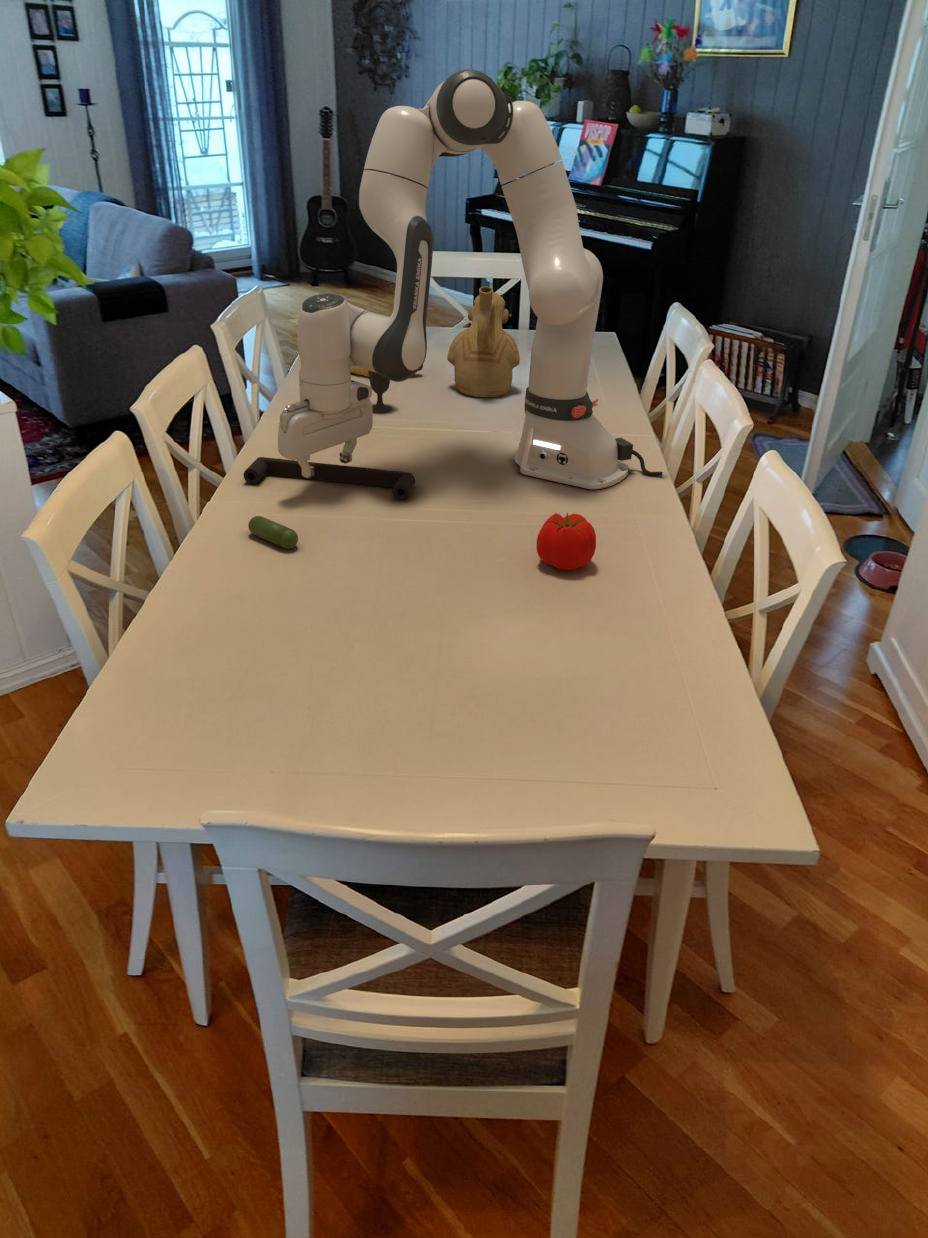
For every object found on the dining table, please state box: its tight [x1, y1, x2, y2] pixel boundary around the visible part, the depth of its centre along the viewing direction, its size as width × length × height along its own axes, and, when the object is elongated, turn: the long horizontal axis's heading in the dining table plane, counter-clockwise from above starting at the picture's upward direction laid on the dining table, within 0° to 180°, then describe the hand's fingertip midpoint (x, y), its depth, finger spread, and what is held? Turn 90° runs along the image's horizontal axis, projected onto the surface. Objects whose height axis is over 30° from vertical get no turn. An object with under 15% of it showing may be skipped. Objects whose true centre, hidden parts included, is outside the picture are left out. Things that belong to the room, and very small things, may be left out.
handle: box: [243, 456, 417, 501], centre depth 168 cm, size 30×6×3 cm, turn 81°
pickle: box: [247, 515, 299, 550], centre depth 149 cm, size 10×3×3 cm, turn 52°
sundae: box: [368, 370, 392, 414], centre depth 203 cm, size 7×7×15 cm
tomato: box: [535, 512, 597, 571], centre depth 145 cm, size 9×9×8 cm
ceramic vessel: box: [446, 286, 521, 398], centre depth 215 cm, size 17×20×25 cm
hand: (327, 468), depth 168 cm, fingers open, 8 cm apart
